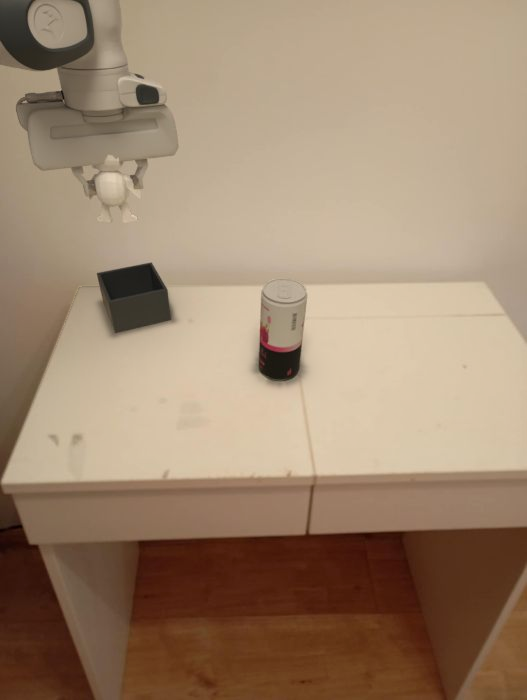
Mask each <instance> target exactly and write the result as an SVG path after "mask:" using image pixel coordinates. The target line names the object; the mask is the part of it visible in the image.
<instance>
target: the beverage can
mask: <svg viewBox="0 0 527 700" xmlns="http://www.w3.org/2000/svg"><path fill="white" fill-rule="evenodd" d="M307 301H308V292H307V287H306V286H305V285H304V284H303V283H302V282H300V281H299V280H296V279H293V278H289V277H278V278H273V279H270V280H268V281H266V282H265V283H264V284H263V286H262V290H261V292H260V319H259V346H258V347H259V348H258V369H259V371H260V373H261V374H262V375H263V376H265V377H267V378H269V379H271V380H274V381H285V380H290V379H291V378H293V377H295V376H296V375H297V374H298V373H299V371H300V365H301V355H302V346H303V340H304V329H305V322H306V312H307V303H308V302H307Z"/></svg>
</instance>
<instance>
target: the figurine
mask: <svg viewBox="0 0 527 700" xmlns="http://www.w3.org/2000/svg"><path fill="white" fill-rule="evenodd" d="M123 165H124V162H119V158H117V159H115V158H114V157H113V155H108V156H107V158H106V159H105V163H104V164H98V165H91V167H92V169H95V170H98V172H97V173H95V174H93V176H92V177H91V179H90V180H92V181H93V183H94V185H95V191H96V197H97V199H98V200H99V201H100V202H101V209H100V215H98V216H97V217H96V221H97V222H98V223H100V222H101V223H113V216H112V213H111V207H112V208H115V207H118V209H119V210H120V211H121V214H122V223H132V222H133V223H134V222H135V223H138V216H136V215H134V214H133V213H132V211H131V209H130V206H129V204H128V200H127V199H128V197H129V193H130V192H131V193H132V194H133V195H134V196H135V197H136V198H137V199H139V201H141V200H142V199H141V198H142V192H141V190H140V189H134V187H133V186H134V184H133V181H132V179H131V178H130V174H125V173H122V172H120V170H121V169H122V167H123ZM94 196H95V195H93V196H88V198H89V200H92V199H93V197H94Z"/></svg>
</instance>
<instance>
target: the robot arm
mask: <svg viewBox="0 0 527 700" xmlns="http://www.w3.org/2000/svg"><path fill="white" fill-rule="evenodd" d="M122 30H123V17H122V10H121V3H120V0H0V66H4V67H7V68H8V67H9V68H14V69H20V70H23V71H29V72H46V71H51V70H54V69H56V70H57V75H58V79H59V85H60V89H61V90H55V91H45V92H40V93H39V92H37V93H36V92H27V93H24V96H23V97H21V98H19V99H18V100H17V102H16V105H15V112H16V115H17V119H18V122H19V125H20V127H22V129H23V130H24V131H26V133H27V140H28V146H29V150H30V156H31V159H32V163H33V165H34V166H35V167H37V168H38V169H39V170H40V171H44V172H45V171H55V170H63V169H70V170H71V172H72V174H73V176H74V178H76V179H77V181H78V182H79V183H80V184H81V185H82V187H83V191H84V195H85V197H89V196H93V195H94V196H97V194H96V191H95V185H94V183H93V181H92V180H91V179H89V180H87V179H86V178H85V177H84V176H83V175H84V174H85V172H84V168H83V167H88V166H92V165H98V164H104V163H105V159H106V158H107V156H108V155H113V157H114V158H115V159H117V158H119V162H123V163H124V162H132V161H134V162H135V164H136V165H137V167H136V170H135V171H134V174H129V177H130V178H131V179H132V181H133V184H134V186H133V187H134V189H139V190H143V189H144V183H143V178H144V176H145V174H146V171H147V169H148V167H149V164H148V159H149V160H150V159H157V158H167V157H173V156H175V155H176V154H177V152H178V150H179V137H178V130H177V126H176V121H175V117H174V114H173V112H172V110H171V109H170V107H168V106H167V105H166V102H167V100H168V95H167V90H166V88H165V87H164V86H163V85H162V84H161V83H160V82H158V81H157V80H155V79H154V78H151V77H148V76H145V75H141V74H139V73H135V72H131V71H129V63H128V58H127V54H126V53H125V50H124V46H123V41H122ZM94 196H93V197H94Z"/></svg>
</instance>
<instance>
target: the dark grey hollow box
mask: <svg viewBox="0 0 527 700" xmlns="http://www.w3.org/2000/svg"><path fill="white" fill-rule="evenodd" d="M96 276H97V282H98V285H99V291H100V294H101V299H102V304H103V306H104V308H105V311H106V313H107V317H108V319H109V321H110V324H111V327H112V329H113V332H114V334H118V333H122V332H127V331H131V330H134V329H138V328H142V327H146V326H147V327H148V326H151V325H154V324H159V323H163V322H167V321H171V320H172V318H171V307H170V300H169V291H168V288H167V286H166V284H165V282H164V281H163V279H162V277H161V276H160V274H159V272H158V270H157V269H156V267H155V265H154V263H153V262H146V263H142V264H141V263H140V264H136V265H132V266H125V267H120V268H116V269H110V270H105V271H100V272H96Z"/></svg>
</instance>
